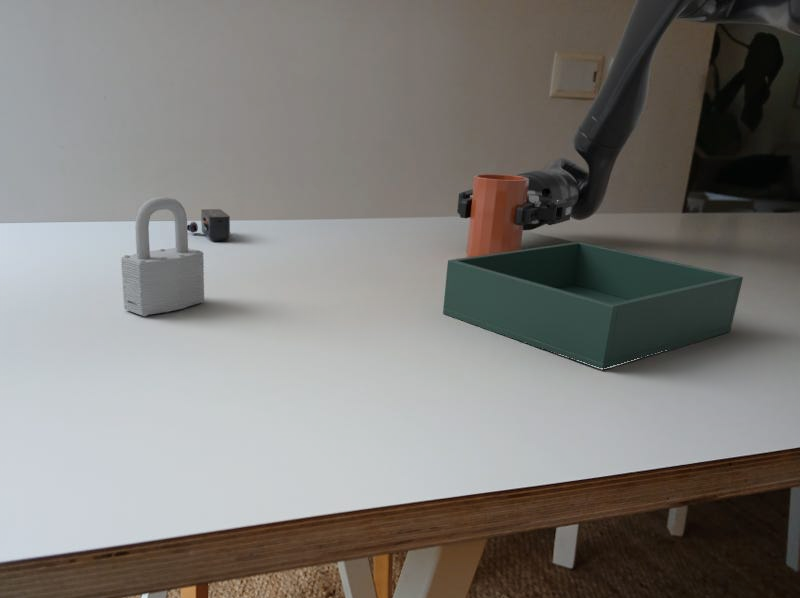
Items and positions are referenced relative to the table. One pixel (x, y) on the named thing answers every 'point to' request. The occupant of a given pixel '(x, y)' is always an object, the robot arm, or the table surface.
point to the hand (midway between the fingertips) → (490, 212)
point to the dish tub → (591, 300)
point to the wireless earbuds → (213, 224)
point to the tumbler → (495, 214)
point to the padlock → (162, 266)
